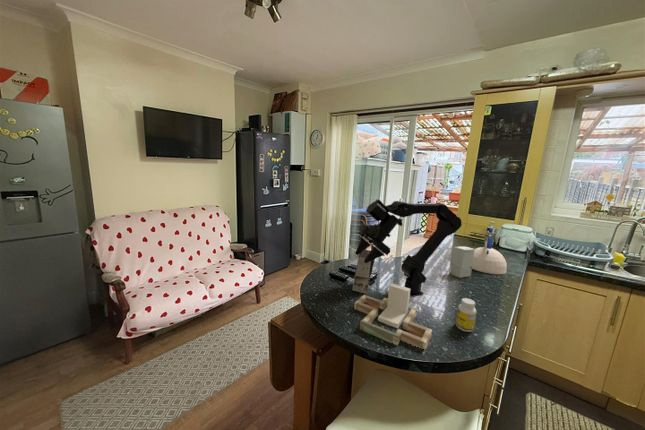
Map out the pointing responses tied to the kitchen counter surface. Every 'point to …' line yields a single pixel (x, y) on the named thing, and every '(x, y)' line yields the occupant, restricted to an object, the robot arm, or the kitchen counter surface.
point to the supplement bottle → (466, 315)
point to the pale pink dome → (488, 259)
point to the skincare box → (462, 261)
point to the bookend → (396, 306)
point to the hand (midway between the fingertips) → (360, 258)
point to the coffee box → (362, 273)
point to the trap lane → (413, 336)
